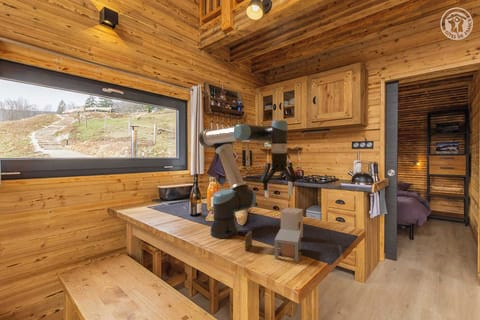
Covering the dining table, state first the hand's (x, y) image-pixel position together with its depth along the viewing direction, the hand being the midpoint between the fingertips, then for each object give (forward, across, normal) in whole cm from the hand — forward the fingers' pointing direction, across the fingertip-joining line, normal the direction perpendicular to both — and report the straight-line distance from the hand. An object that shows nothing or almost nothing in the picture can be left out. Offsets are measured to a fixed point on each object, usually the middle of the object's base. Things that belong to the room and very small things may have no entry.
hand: (278, 195), depth 110 cm
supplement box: (+23, +7, -1) cm, 24 cm away
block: (+21, -6, -16) cm, 27 cm away
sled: (+22, -10, -12) cm, 27 cm away
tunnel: (+22, -6, -16) cm, 28 cm away
